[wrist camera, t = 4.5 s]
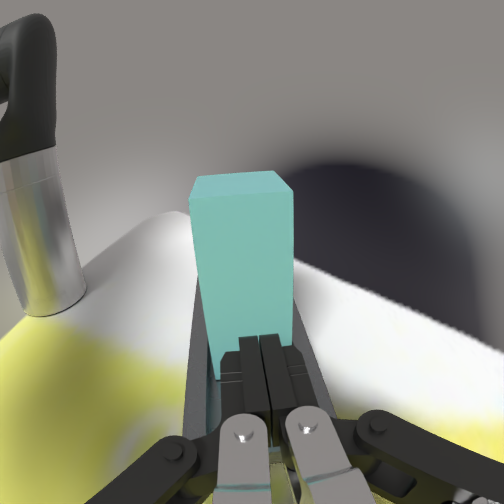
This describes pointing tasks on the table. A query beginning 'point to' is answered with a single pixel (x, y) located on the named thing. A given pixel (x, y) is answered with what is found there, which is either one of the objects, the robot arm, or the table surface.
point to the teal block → (243, 257)
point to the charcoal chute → (209, 389)
